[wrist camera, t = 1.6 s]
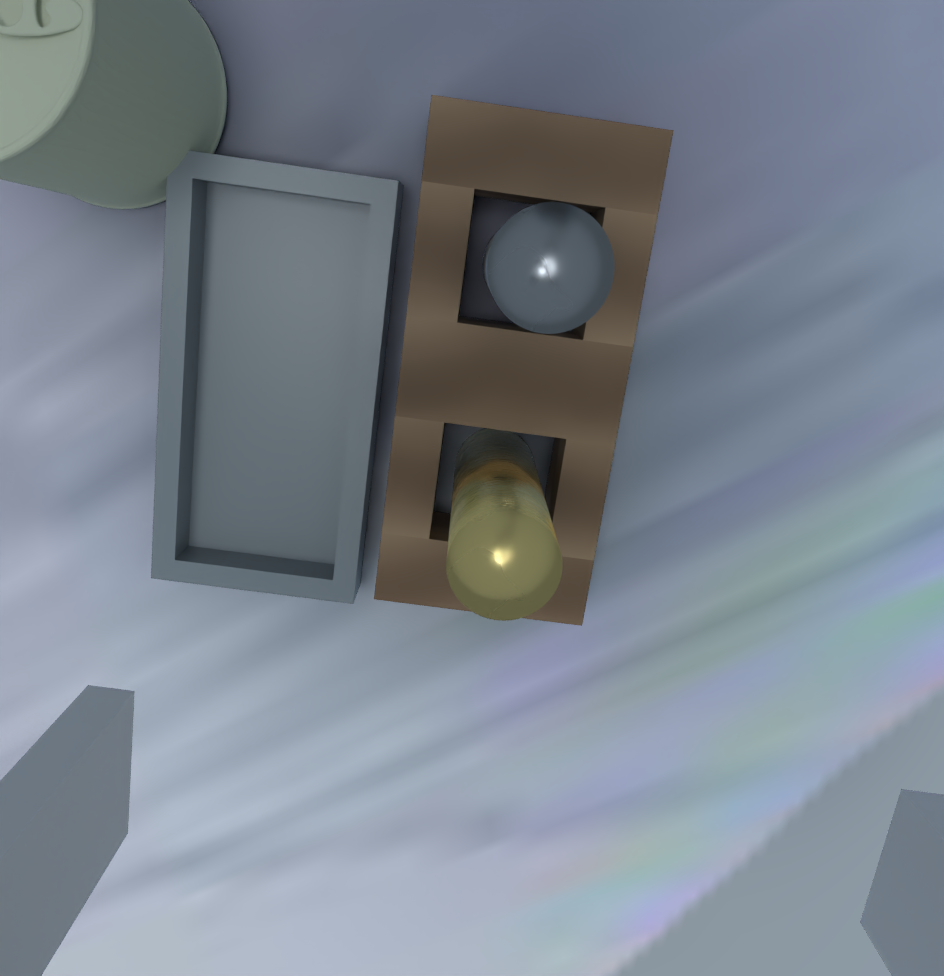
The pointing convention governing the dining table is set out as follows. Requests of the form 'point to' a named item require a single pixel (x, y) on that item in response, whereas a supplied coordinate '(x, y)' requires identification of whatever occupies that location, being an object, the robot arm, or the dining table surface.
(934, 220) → the dining table surface
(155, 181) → the can
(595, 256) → the steel pin
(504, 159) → the block
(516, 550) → the brass pin
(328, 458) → the tray
